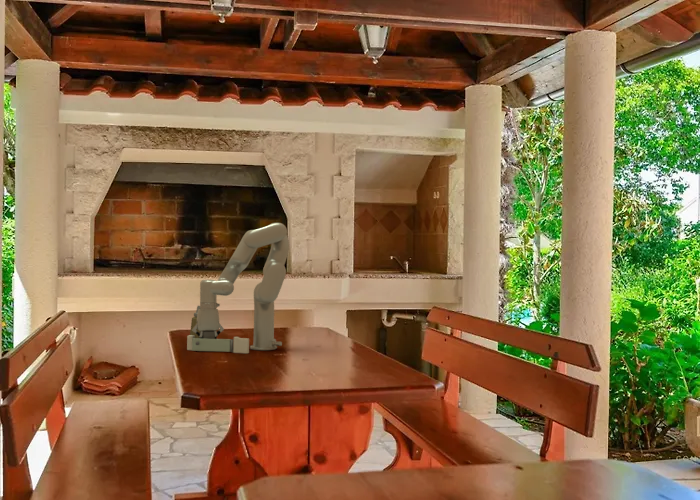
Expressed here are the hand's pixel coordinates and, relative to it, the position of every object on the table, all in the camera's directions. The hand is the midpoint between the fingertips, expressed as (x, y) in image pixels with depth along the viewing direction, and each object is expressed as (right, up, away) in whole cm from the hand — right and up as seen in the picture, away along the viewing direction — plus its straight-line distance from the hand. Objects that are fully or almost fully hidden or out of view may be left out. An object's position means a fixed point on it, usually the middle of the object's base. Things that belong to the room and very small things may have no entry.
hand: (207, 345), depth 351 cm
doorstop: (0, -2, 0) cm, 2 cm away
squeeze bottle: (-10, -2, +26) cm, 27 cm away
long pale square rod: (+3, -2, -5) cm, 6 cm away
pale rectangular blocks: (+5, -2, -4) cm, 7 cm away
